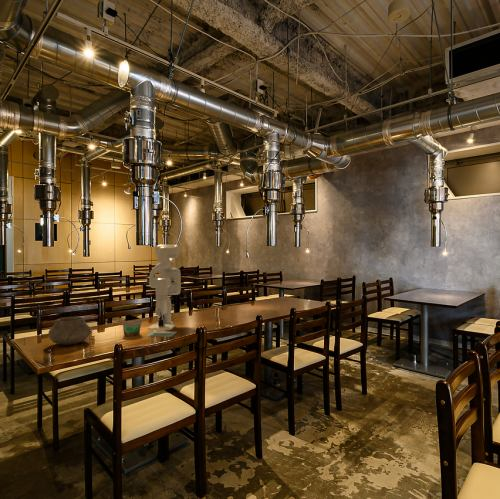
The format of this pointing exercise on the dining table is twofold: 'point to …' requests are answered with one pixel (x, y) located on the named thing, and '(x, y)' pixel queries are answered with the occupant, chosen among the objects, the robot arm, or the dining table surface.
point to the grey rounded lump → (69, 331)
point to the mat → (161, 334)
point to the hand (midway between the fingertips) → (161, 324)
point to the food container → (131, 328)
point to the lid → (164, 327)
